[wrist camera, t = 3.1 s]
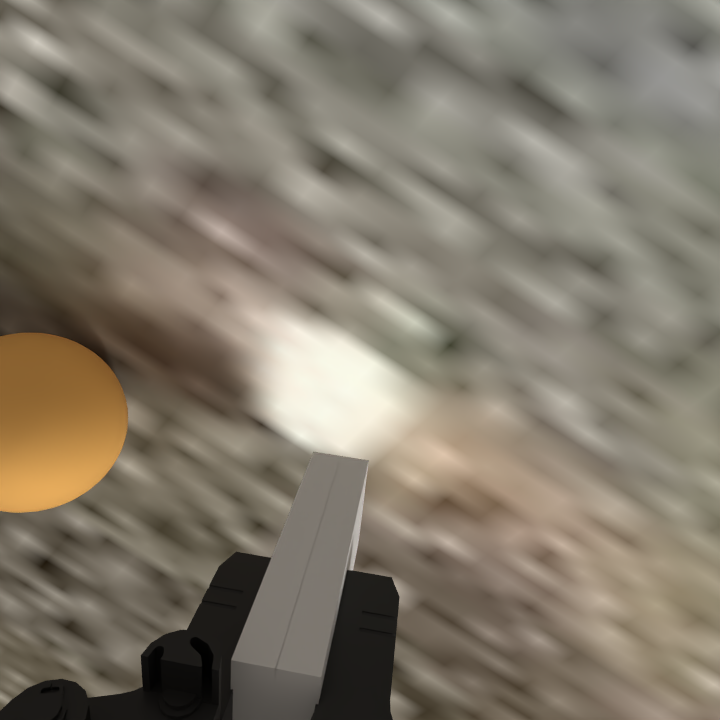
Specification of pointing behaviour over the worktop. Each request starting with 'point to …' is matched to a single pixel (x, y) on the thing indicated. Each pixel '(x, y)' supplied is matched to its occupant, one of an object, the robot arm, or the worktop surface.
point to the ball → (55, 421)
